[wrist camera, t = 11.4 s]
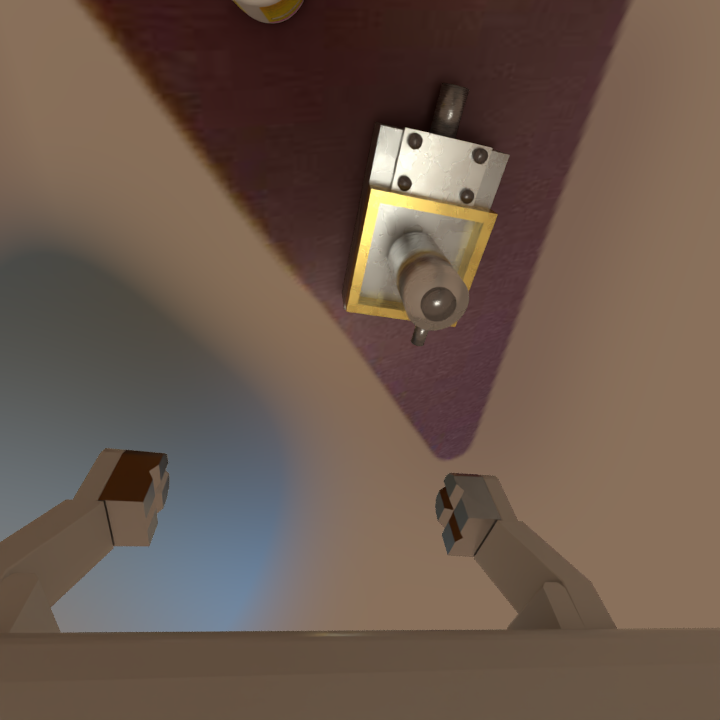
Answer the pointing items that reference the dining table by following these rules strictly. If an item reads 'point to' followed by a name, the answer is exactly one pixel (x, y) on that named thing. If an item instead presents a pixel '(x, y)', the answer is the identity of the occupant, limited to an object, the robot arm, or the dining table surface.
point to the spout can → (426, 284)
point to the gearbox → (421, 203)
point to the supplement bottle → (269, 9)
